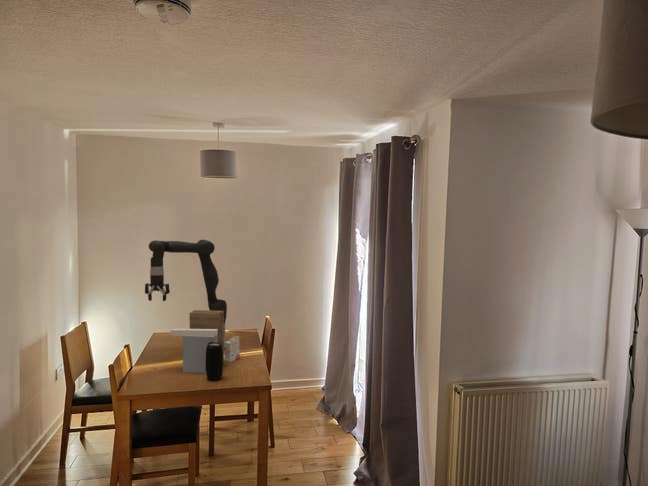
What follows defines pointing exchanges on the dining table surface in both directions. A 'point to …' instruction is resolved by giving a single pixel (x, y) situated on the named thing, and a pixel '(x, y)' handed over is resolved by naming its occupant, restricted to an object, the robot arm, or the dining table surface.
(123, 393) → the dining table surface
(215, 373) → the portable speaker
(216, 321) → the walnut pedestal
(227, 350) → the ink cartridge box
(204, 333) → the cream bar
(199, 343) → the grey stand
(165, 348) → the dining table surface
